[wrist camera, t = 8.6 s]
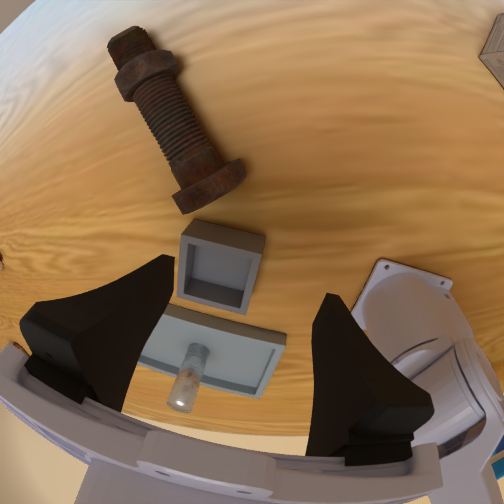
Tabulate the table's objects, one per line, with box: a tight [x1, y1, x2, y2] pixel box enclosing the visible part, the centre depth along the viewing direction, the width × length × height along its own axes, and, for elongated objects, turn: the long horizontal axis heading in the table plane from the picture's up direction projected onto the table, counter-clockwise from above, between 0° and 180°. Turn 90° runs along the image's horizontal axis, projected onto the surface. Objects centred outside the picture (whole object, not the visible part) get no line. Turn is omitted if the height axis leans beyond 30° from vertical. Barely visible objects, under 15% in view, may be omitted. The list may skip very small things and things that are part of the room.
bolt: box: [107, 26, 247, 215], centre depth 16 cm, size 6×5×15 cm
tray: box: [137, 303, 286, 399], centre depth 30 cm, size 18×12×2 cm, turn 78°
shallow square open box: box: [177, 219, 266, 315], centre depth 23 cm, size 6×6×3 cm
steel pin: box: [167, 343, 210, 413], centre depth 27 cm, size 3×3×8 cm
